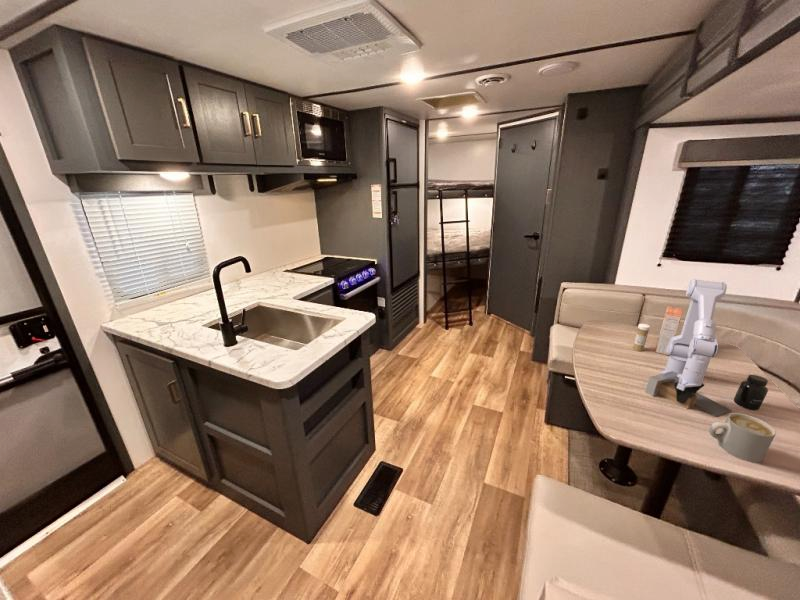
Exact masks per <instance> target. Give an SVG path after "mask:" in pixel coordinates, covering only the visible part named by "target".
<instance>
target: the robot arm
mask: <svg viewBox="0 0 800 600" xmlns="http://www.w3.org/2000/svg"><path fill="white" fill-rule="evenodd" d="M727 287H728V285H727V283H725V281H722V282H720V281H714V280H713V281H710V280H702V279H696V278H693V279H691V280H690V281H689V282H688V285H687V289H686V292H685V297H687V298H689V299H690V300H689V301H690V303H689V305H688V308H687V309H688V310H687V313H686V315H685V320H684V323H683V324H682V325H683V326H682V329H681V332H680V334H678V335H676V336H674V337H671V339H670V341H669V343H668V345H667V354H668V355H670V356H668V355H667V356H668V359H667V362H666V365H665V369H662V370H660V371H659V370H658V373H660V374H663V373H667V372H671V371H673V372H675V373H677V374H678V375H677V377H679V381H678V382H677V383H675V384H674V387H675V389H676V394H677V401H678V402H680V403H682V404H684V403H685V402H686V400H687V399H688V397H689V396H690V395H691V394H692V393H695V394H696V392H697V393H698V391H700V390H701V389H702V388H703V387H704V386H705V384H704V383H703V381H704V377H705V375H706V372H707V371H708V370H707V369H708V366H709V365H710V362H711V359H712V358H714V357H716V355H717V352H718V347H719V345H718V339H717V338H716V330H717V323H716V322H715V321H714V320H713V318H714V314H715V310H716V304H717V303H718V302H720V301H721V299H722V298H723V297H724V296H726V295H725V294H726V292H727Z"/></svg>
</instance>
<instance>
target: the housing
mask: <svg viewBox="0 0 800 600" xmlns="http://www.w3.org/2000/svg"><path fill="white" fill-rule="evenodd" d="M677 375H678V374H677V373H675V372H673V371H671V372H667V373H663V374H662V373H660V374H657V375H652V376H649V378H648V380H647V384H646V387H645V391H644V393H646V394H648V395H649V394H650V395H649V396H651V397H655V396H658V395H659V394H658V392H659V389H660V386H661V383H662V382H666V381H667V382H669V383H672V384H675V383H677V382H678V381H679V377H677ZM678 383H679V382H678Z"/></svg>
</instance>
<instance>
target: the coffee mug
mask: <svg viewBox="0 0 800 600" xmlns="http://www.w3.org/2000/svg"><path fill="white" fill-rule="evenodd" d="M719 429H722V430H721V431H720V433H717V430H719ZM708 432H709V433H710V435H711V437H712V438H714V439H716V440H717V443H718V445H719V447H720V448H722V450H724V451H725V452H727V453H728V454H730V455H732V456H733V457H736V458H738V459H740V460H742V459H743V460H742V461H745V460H746V462H749V461H750V463H762V462H763V460H764V458H765V456H766V454H767V453H768V451H769V449H770V446H771V444H772V442H773V441H774V438H775V436H776V434H777V433H776V432H777V431H776V430H775V429H774V427H773V426H771V425H770V424H769V423H767V422H765V421H764V420H762V419H760V418H757V417H756V416H751V415H749V414H746V413H740V412H732V413H731V412H730V413H728V415H727V417H726V420H725V422H721V421H716V422H713V423H712V424H711V425H710V427H709V431H708Z"/></svg>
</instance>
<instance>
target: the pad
mask: <svg viewBox="0 0 800 600" xmlns="http://www.w3.org/2000/svg"><path fill="white" fill-rule="evenodd" d="M696 395H697V396H698V397H697V399H696V402H695V405H694V406H693V407H696V408H698V409H700V410H702V411H703V412H705V413H707V414H709V415H711V416H713V417H719V416H722V415H725V414H729V413H731V412H732V411H733V409H731V408H729V407H727V406H725V405H723V404H721V403H719V402H717V401H715V400H712V399H710V398H709V397H707V396H705V395H703V394H701V393H699V392H698V391H697V392H696Z"/></svg>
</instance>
